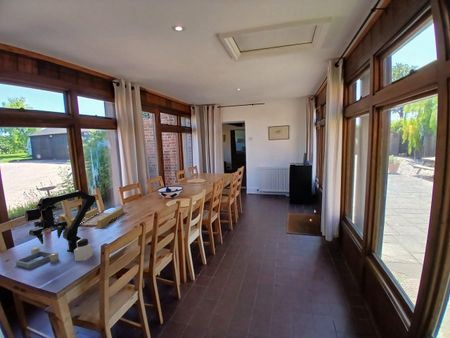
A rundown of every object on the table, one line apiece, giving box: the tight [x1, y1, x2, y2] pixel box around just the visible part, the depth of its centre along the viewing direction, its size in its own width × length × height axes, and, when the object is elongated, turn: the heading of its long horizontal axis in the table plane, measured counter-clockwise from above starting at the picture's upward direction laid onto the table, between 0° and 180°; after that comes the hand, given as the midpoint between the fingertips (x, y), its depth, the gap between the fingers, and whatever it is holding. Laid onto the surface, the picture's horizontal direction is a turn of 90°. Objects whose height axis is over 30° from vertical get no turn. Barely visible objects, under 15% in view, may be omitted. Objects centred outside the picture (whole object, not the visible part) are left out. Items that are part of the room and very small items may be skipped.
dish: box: [15, 250, 54, 270], centre depth 138 cm, size 14×14×3 cm
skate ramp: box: [58, 206, 124, 230], centre depth 207 cm, size 40×35×16 cm
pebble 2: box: [49, 252, 60, 264], centre depth 138 cm, size 4×4×4 cm
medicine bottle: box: [73, 238, 94, 262], centre depth 140 cm, size 7×7×12 cm
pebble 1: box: [30, 246, 41, 255], centre depth 147 cm, size 4×4×4 cm
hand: (50, 240), depth 140 cm, fingers open, 9 cm apart
